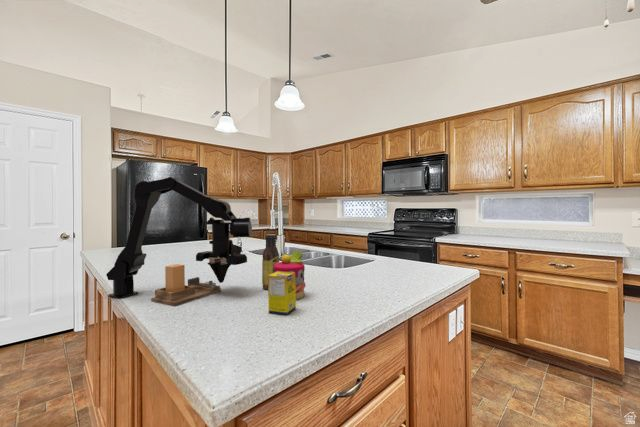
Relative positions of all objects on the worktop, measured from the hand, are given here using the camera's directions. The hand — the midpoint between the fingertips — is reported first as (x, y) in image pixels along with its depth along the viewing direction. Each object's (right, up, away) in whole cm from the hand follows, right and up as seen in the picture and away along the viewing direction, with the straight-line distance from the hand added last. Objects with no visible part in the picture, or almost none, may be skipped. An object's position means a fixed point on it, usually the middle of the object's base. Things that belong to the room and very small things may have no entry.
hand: (221, 282), depth 105 cm
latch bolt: (-5, -3, +3) cm, 7 cm away
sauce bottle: (+16, -4, +8) cm, 18 cm away
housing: (-11, -4, -2) cm, 12 cm away
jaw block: (-13, -3, -6) cm, 15 cm away
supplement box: (+23, -5, -17) cm, 29 cm away
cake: (+24, -4, -3) cm, 24 cm away
